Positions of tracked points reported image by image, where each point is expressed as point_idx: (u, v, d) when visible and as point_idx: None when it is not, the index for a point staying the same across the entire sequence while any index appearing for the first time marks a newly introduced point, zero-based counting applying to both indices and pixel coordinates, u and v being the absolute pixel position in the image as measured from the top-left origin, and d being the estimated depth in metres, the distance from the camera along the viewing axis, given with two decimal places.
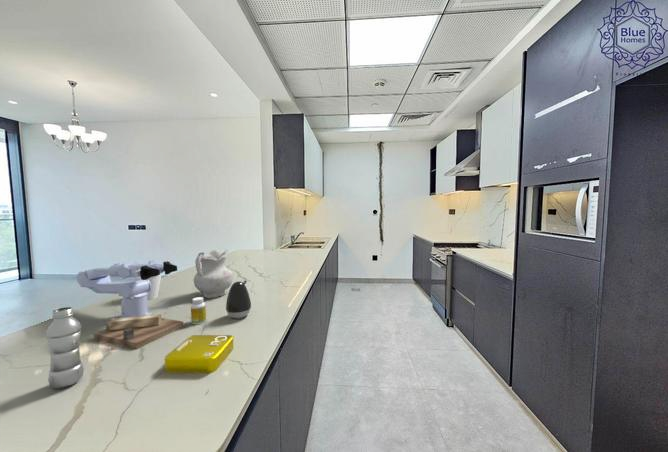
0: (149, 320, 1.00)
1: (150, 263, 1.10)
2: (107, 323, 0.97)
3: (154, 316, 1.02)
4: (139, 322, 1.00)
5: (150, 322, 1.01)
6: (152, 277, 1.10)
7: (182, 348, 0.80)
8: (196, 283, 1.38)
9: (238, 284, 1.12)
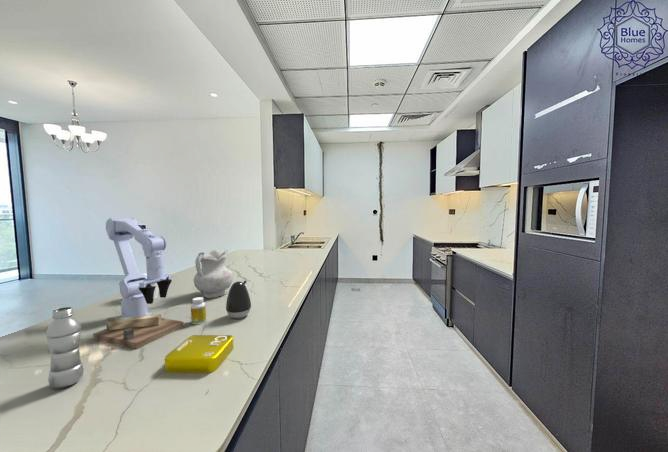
0: (149, 320, 1.00)
1: (162, 280, 1.07)
2: (107, 323, 0.97)
3: (154, 316, 1.02)
4: (139, 322, 1.00)
5: (150, 322, 1.01)
6: None
7: (182, 348, 0.80)
8: (196, 283, 1.38)
9: (238, 284, 1.12)
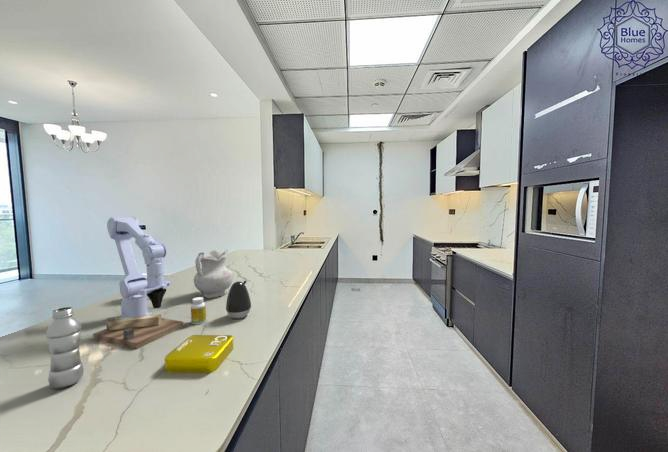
0: (149, 320, 1.00)
1: (162, 287, 1.07)
2: (107, 323, 0.97)
3: (154, 316, 1.02)
4: (139, 322, 1.00)
5: (150, 322, 1.01)
6: None
7: (182, 348, 0.80)
8: (196, 283, 1.38)
9: (238, 284, 1.12)
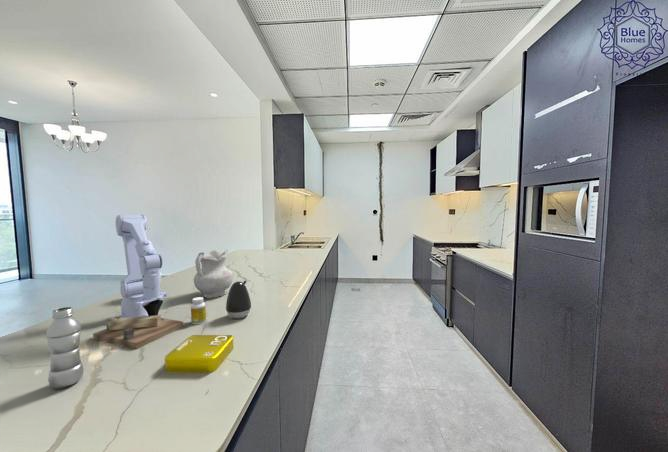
0: (148, 320, 1.00)
1: (158, 299, 1.03)
2: (107, 323, 0.97)
3: (153, 317, 1.01)
4: (138, 322, 0.99)
5: (149, 323, 1.00)
6: None
7: (182, 348, 0.80)
8: (196, 283, 1.38)
9: (238, 284, 1.12)
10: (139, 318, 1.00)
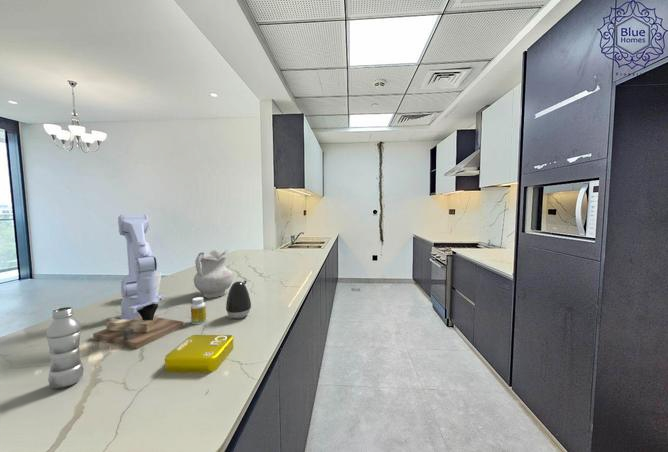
0: (138, 325, 0.95)
1: (154, 303, 0.98)
2: (106, 323, 0.97)
3: (145, 322, 0.96)
4: (130, 326, 0.96)
5: (139, 328, 0.95)
6: None
7: (182, 348, 0.80)
8: (196, 283, 1.38)
9: (238, 284, 1.12)
10: (133, 322, 0.97)
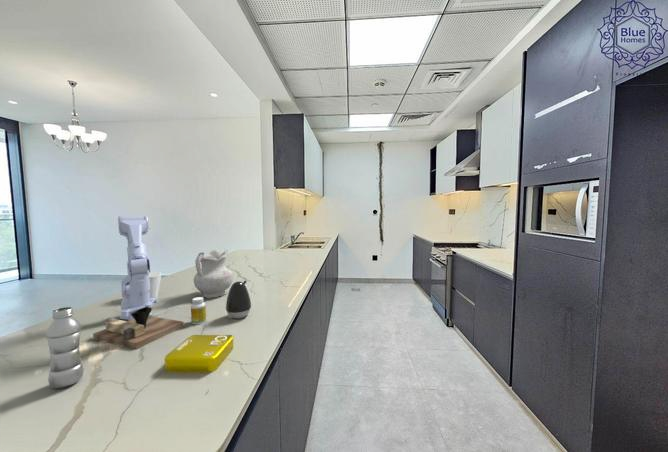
0: None
1: (147, 306, 0.95)
2: (106, 323, 0.97)
3: (135, 326, 0.93)
4: (123, 329, 0.94)
5: None
6: None
7: (182, 348, 0.80)
8: (196, 283, 1.38)
9: (238, 284, 1.12)
10: (126, 324, 0.95)
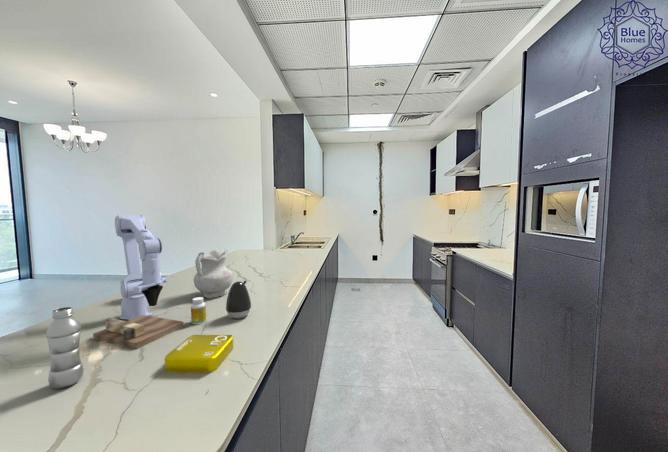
0: None
1: (158, 284, 1.01)
2: (106, 323, 0.97)
3: (135, 326, 0.93)
4: (123, 329, 0.94)
5: None
6: None
7: (182, 348, 0.80)
8: (196, 283, 1.38)
9: (238, 284, 1.12)
10: (126, 324, 0.95)
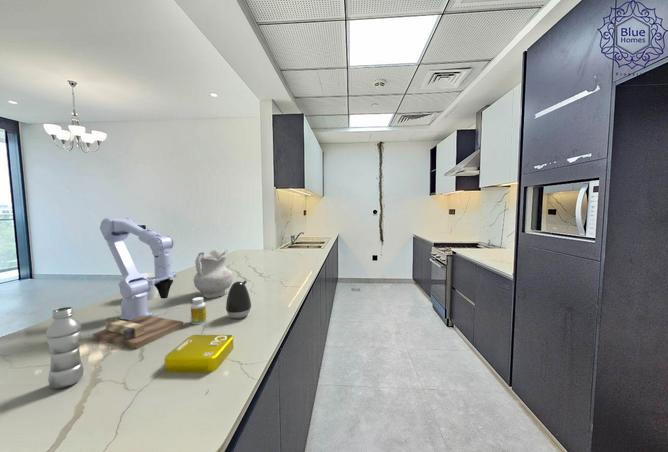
0: None
1: (169, 278, 1.10)
2: (106, 323, 0.97)
3: (135, 326, 0.93)
4: (123, 329, 0.94)
5: None
6: None
7: (182, 348, 0.80)
8: (196, 283, 1.38)
9: (238, 284, 1.12)
10: (126, 324, 0.95)
